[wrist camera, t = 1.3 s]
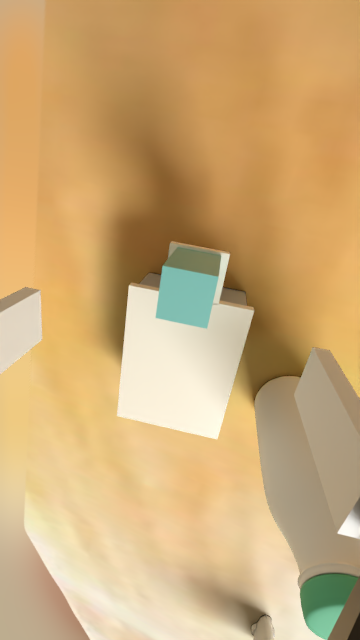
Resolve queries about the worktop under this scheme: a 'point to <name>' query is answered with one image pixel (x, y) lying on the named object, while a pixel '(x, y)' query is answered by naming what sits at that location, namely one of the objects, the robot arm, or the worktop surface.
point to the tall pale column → (263, 629)
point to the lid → (182, 344)
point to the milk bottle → (303, 507)
